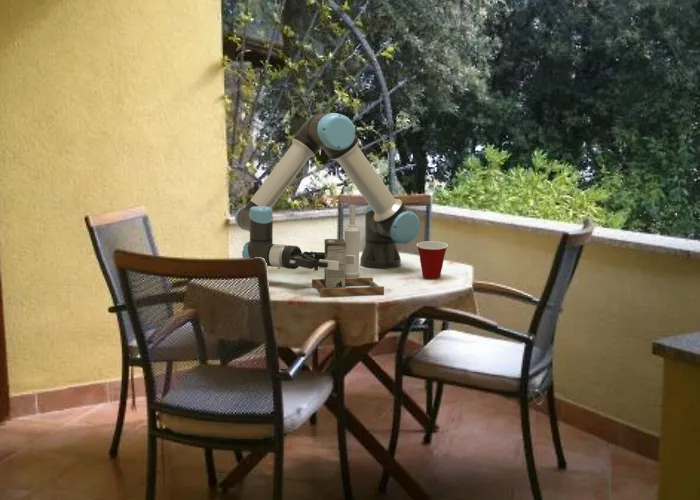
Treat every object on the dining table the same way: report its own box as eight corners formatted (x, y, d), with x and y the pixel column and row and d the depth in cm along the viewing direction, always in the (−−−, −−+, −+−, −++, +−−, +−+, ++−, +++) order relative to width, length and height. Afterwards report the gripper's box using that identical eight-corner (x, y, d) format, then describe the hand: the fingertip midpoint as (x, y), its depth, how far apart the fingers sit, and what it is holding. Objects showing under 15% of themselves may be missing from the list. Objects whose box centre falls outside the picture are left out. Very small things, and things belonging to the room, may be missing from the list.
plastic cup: (415, 280, 269) (415, 245, 267) (415, 274, 280) (416, 240, 278) (447, 281, 268) (448, 246, 266) (447, 275, 279) (447, 241, 277)
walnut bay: (371, 284, 262) (371, 277, 262) (383, 294, 247) (384, 286, 247) (312, 287, 258) (312, 279, 257) (320, 297, 243) (320, 289, 242)
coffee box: (323, 288, 256) (324, 238, 253) (343, 288, 256) (344, 238, 254) (325, 294, 247) (325, 243, 244) (346, 294, 247) (346, 243, 245)
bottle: (361, 277, 275) (362, 205, 270) (356, 279, 270) (357, 206, 266) (347, 275, 276) (347, 204, 272) (342, 278, 271) (342, 205, 267)
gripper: (304, 262, 269) (362, 268, 259) (266, 274, 249) (328, 281, 239) (304, 240, 268) (363, 245, 258) (266, 250, 247) (328, 256, 237)
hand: (346, 262), depth 248 cm, fingers closed on coffee box, 11 cm apart
